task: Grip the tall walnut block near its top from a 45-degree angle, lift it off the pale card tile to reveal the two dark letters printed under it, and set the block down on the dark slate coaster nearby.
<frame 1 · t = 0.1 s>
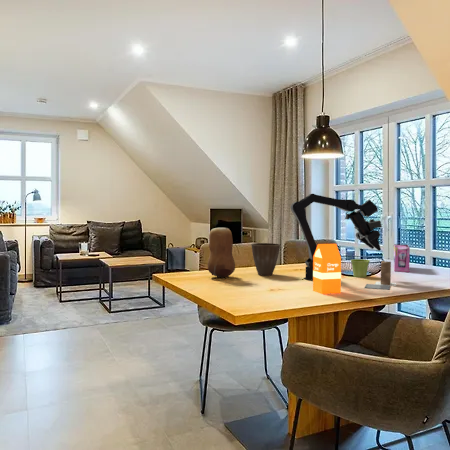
hand: (376, 249, 214), 15 cm above the table, tool tilted 35°, fingers open, 9 cm apart
plant pot: (265, 275, 230), on the table
orange juice: (326, 292, 183), on the table
coaster: (377, 287, 192), on the table
block: (385, 283, 201), resting on code tile
code tile: (385, 284, 201), on the table
plant pot 2: (359, 277, 222), on the table
gum box: (401, 269, 253), on the table
butternut squash: (221, 277, 220), on the table
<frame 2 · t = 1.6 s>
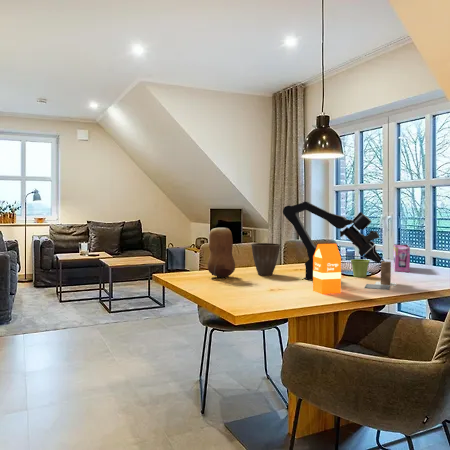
hand: (380, 261, 201), 10 cm above the table, tool tilted 45°, fingers open, 9 cm apart
nothing on the table moved.
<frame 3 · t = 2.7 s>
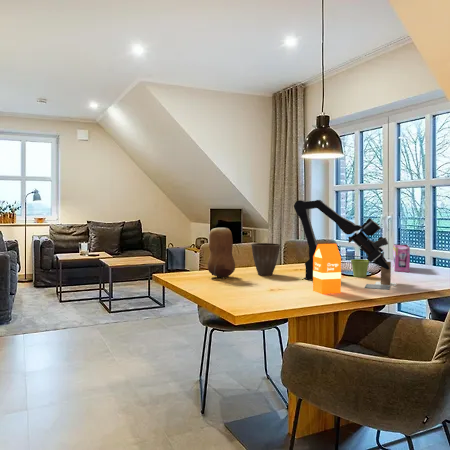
hand: (389, 268, 200), 8 cm above the table, tool tilted 45°, fingers closed on block, 5 cm apart
block: (385, 283, 201), resting on code tile, touching gripper
everything else where it was.
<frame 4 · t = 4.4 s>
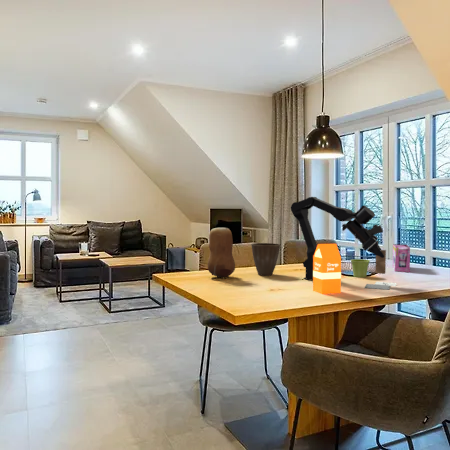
hand: (384, 256, 194), 13 cm above the table, tool tilted 45°, fingers closed on block, 5 cm apart
block: (380, 272, 195), point 6 cm above the table, touching gripper
everything else where it was.
when the fingers open (8 cm above the table, at t = 6.0 s): block stays where it is, resting on coaster.
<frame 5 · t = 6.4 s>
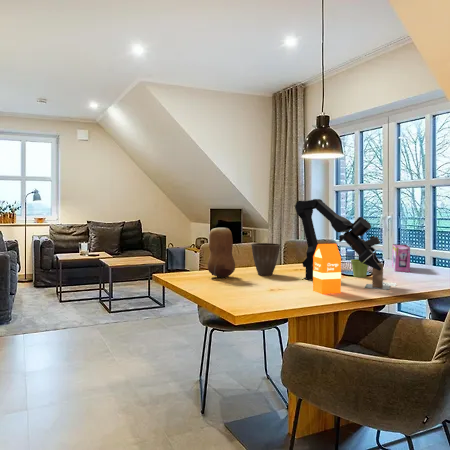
hand: (381, 268, 192), 9 cm above the table, tool tilted 45°, fingers open, 9 cm apart
block: (377, 286, 192), point 1 cm above the table, touching coaster
everything else where it was.
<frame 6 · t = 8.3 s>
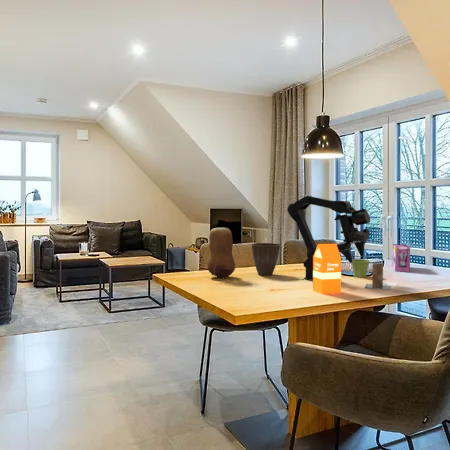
hand: (357, 259, 203), 11 cm above the table, tool tilted 15°, fingers open, 9 cm apart
nothing on the table moved.
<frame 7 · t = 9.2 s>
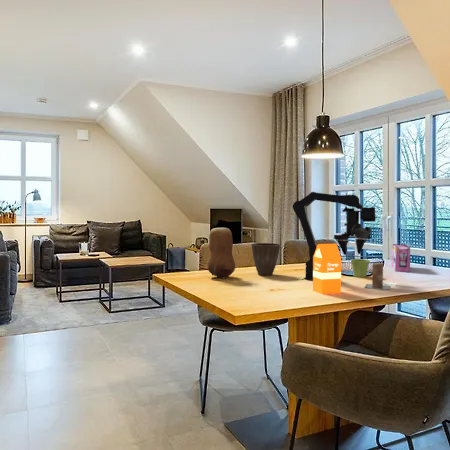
hand: (352, 254, 208), 13 cm above the table, tool pointing down, fingers open, 9 cm apart
nothing on the table moved.
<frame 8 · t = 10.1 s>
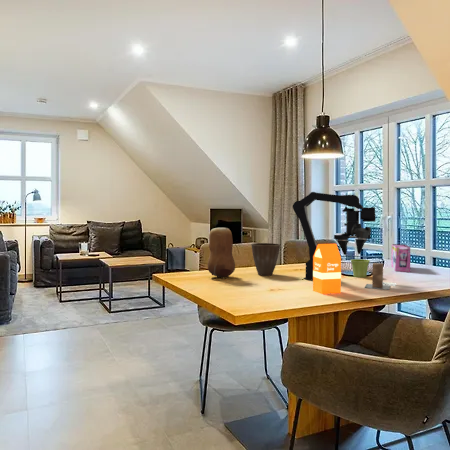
hand: (352, 254, 208), 13 cm above the table, tool pointing down, fingers open, 9 cm apart
nothing on the table moved.
at the end: block 0.1 cm from the coaster (horizontally); block tilted 0°; block touching coaster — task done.
